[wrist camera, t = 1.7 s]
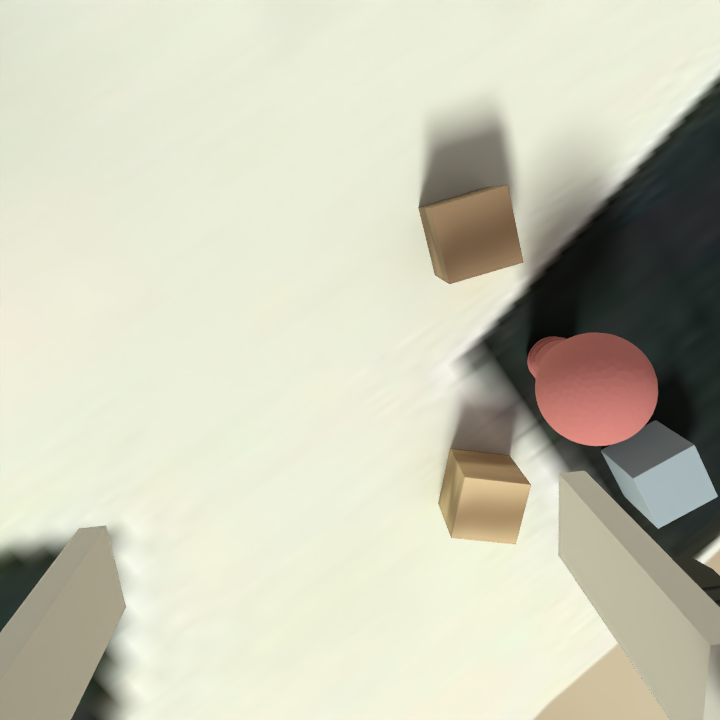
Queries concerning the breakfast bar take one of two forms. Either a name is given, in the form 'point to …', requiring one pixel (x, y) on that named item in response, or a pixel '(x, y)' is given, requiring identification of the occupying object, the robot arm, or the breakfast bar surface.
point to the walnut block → (471, 234)
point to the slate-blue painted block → (660, 473)
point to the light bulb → (593, 387)
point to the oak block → (483, 496)
